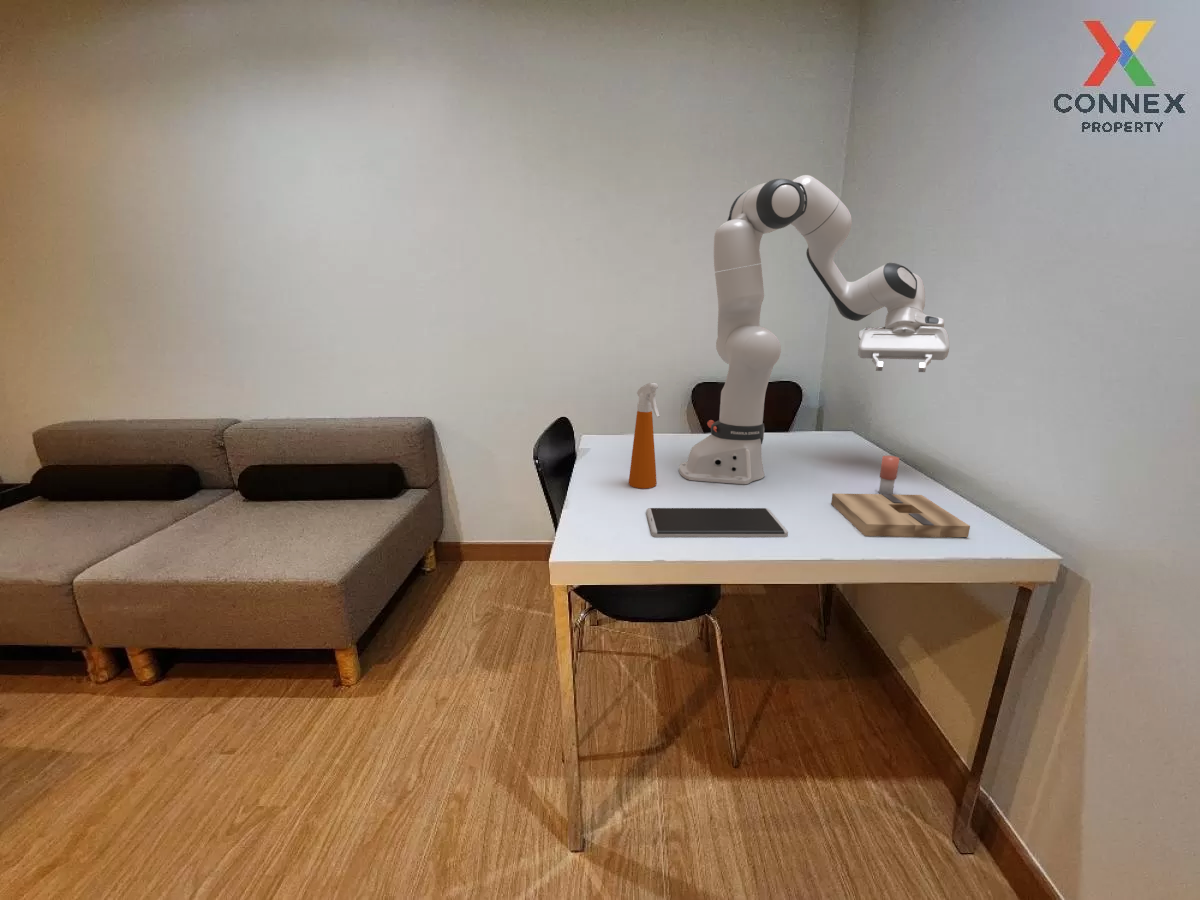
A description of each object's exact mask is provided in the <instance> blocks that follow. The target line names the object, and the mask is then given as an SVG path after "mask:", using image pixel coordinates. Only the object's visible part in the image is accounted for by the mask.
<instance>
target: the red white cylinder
mask: <svg viewBox="0 0 1200 900" xmlns="http://www.w3.org/2000/svg"><path fill="white" fill-rule="evenodd" d="M899 463H900V457H898V456H894V455H882V458H881V464H880V465H881V466H880V472H879V478H880V480H879V481H880V482H879V489H878V494H881V493H887V494H894V488H895V481H896V480H897V478H898V471H899Z"/></svg>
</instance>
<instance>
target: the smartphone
mask: <svg viewBox="0 0 1200 900" xmlns="http://www.w3.org/2000/svg"><path fill="white" fill-rule="evenodd" d="M645 511H646V512H645V514H646V518H647V521H648V526H649V530H650V534H651V536H652V537H654V538H787V537H789V536H788V535H789V531H788V530H787V529H786V528H785V526H784V525H783V523H781V522H780V521H779V519H778V518H777V517H776V515H775V514H774V513H773V512H772V511H771V510H770V508H766V507H754V508H753V507H742V508H741V507H727V508H726V507H713V508H712V507H649V508H647V509H646V510H645Z"/></svg>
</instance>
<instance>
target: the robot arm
mask: <svg viewBox="0 0 1200 900" xmlns="http://www.w3.org/2000/svg"><path fill="white" fill-rule="evenodd" d="M852 220H853V219H852V215H851V213H850V210H849V208H848V207H847V206H846V205H845V203H843V201H842V200H841V199H840V197H838V196H837V195H836V194H835V192H833V191H832V190H831V189H830V188H828V186H826V185H825V184H824V183H823V182H821V181H820V180H818V179H817V178H815V177H814V176H812V175H810V174H803V175H799V176H798V177H796V178H794V179H792V180H790V179H787V178H774V179H771V180H769V181H767V182H764V183H759V184H756V185H755V186H752V187H751V188H749V189H747V190H745V191H744V192H742V193H741V194H739V195H738V196H737V197H736V198H735V199H734V201H733V202H732V205H731V206H730V210H729V216H728V217H727V220H726V221H725V222H724V223H722V224H721V225H719V226H718V227H717V229H715V232H714V237H713V267H714V276H715V284H716V285H715V286H716V293H717V305H718V306H717V307H718V311H717V312H718V316H717V339H716V341H715V347H716V348H715V349H716V351H717V353H718V355H719V357H720V359H721V360H722V361H723V362H725V363H726V364H728V370H727V375H726V379H725V382H724V385H723V387H722V389H721V391H720V404H719V419H718V420H717V421H714V420H712V419H710V420H709V419H708V421H707V423H706V424H707V426H708V428H710V434H709V435H708V436H706V437H705V438H704V439H702V440H701V441H699V442H698V443H696V444H695V445H692V447H691V449H690V450H689V453H688V457H687V461H683V462H682V463H680V465H679V468H678V472H679V475H680V476H681V477H683V478H684V479H686V480H689V481H696V482H698V481H699V482H710V483H711V482H712V483H724V484H725V483H726V484H735V485H736V484H737V485H748V484H751V482H754V481H758V480H761V479H763V478H765V476H766V475H765V471H764V464H763V457H762V456H763V454H762V444H764V443H763V441H764V437H765V423H763V421H764V410H765V400H766V399H765V398H766V392H767V388H768V384H769V381H770V379H771V375H772V371H773V369H774V366H775V365H777V364H776V363H777V362H778V361H779V359H780V357H781V353H782V351H781V350H782V345H781V342H780V340H779V338H778V337H777V335H775V333H773V332H772V331H771V330H770V329H768V328H767V327H763V326H761V325H760V320H761V310H762V309H761V308H762V305H763V302H764V299H765V298H764V297H765V291H764V290H765V289H764V279H763V269H762V259H761V253H760V249H761V248H760V247H761V241H762V238H763V235H764V234H768V233H772V232H776V231H777V230H779V229H780V230H781V229H784V228H786V227H788V226H790V225H792V226H793V227H794V229H796V230H797V231H798V233H800V235H802V237H803V238H804V240H805V241H806V243H807V248H806V257H807V261H808V263H809V265H810V266H811V268H812V269H813V271H814V273H815V274H816V276H817V277H818V279H819V281H820V282H821V283H822V285H823V286H824V288H825V290H826V291H827V292H828V294H829V295H830V296H831V298H832V299H833V302H834V304H835V306H836V309H837V310H838V313H839V314H840V315H841V316H842V317H843V318H845V319H847V320H849V321H850V320H851V321H855V322H859V321H861V320H863V319H865V318H866V317H868V316H869V315H871V314H872V313H874V312H876V311H878V310H880V309H883V308H884V307H885V308H886V311H887V314H886V315H885V316H886V317H885V323H884V326H875V327H872V326H868V327H867V326H866V327H865V328H862V329H860V330H859V332H858V339H859V343H858V349H857V356H859V358H861V359H870V360H871V361H872V362H873V365H875V371H876V372H883V366H884V361H880V360H884V359H886V360H924V361H923V362H919V365H918V373H926V370H927V367H928V366H929V364H931V362H932V361H943V360H945V359H947V357H948V356H949V353H950V340H949V334H948V331H947V330H946V329H945V319H944V318H941V317H938V316H933V315H929V314H925V313H924V309H925V306H926V291H925V286H924V281H923V279H922V278H921V277H920V275H918V274H916V273H914V272H912V271H911V270H910V269H908V268H907V267H906V266H904V265H902V264H898V263H896V262H888V263H885V264H882V265H881V266H879V267H877V268H876V269H873V270H872V271H871V272H870V273H867V274H866V275H864V276H863V277H860V278H858V279H857V280H855V281H848V280H847V279H846V278H845V277H844V275H843V274H842V272H841V271H840V269H839V267H838V266H837V264H836V263H835V261H834V257H835V255H836V254H837V253H838V251H839V250H840V249H841V247H842V246H843V245H844V243H845V242H846V240H847V238H848V237H849V235H850V231H851V229H852V222H853V221H852Z"/></svg>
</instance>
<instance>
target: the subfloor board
mask: <svg viewBox="0 0 1200 900" xmlns="http://www.w3.org/2000/svg"><path fill="white" fill-rule="evenodd" d="M831 495H832V496H831V501H830V502H831V505H832V506H833V507H834V509H836V510H837V511H839V513H840V514H841V515H842V516H843V517H844V518H846V519H847V520H848V521H849V522H850V523H851V524H852V525H853V526H854V527H855V528H856V529H857V530H858V531H860V533H861V534H862V535H863V536H864V537H895V538H897V537H901V538H903V537H905V538H947V537H968V538H969V534H970V529H971V526H970V524H968V523H966V522H964V521H963V520H961V519H960V518H959V517H956V516H955V515H954V514H952V513H950V512H949V511H947V510H946V509H945V508H943V507H941V506H939V505H938V504H936V503H935V502H933V501H932V500H930V499H929V498H927V497H926V496H924V495H922V494H894V493H893V494H887V493H881V494H880V493H878V494H877V493H872V494H871V493H837V492H836V493H832V494H831Z"/></svg>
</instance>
